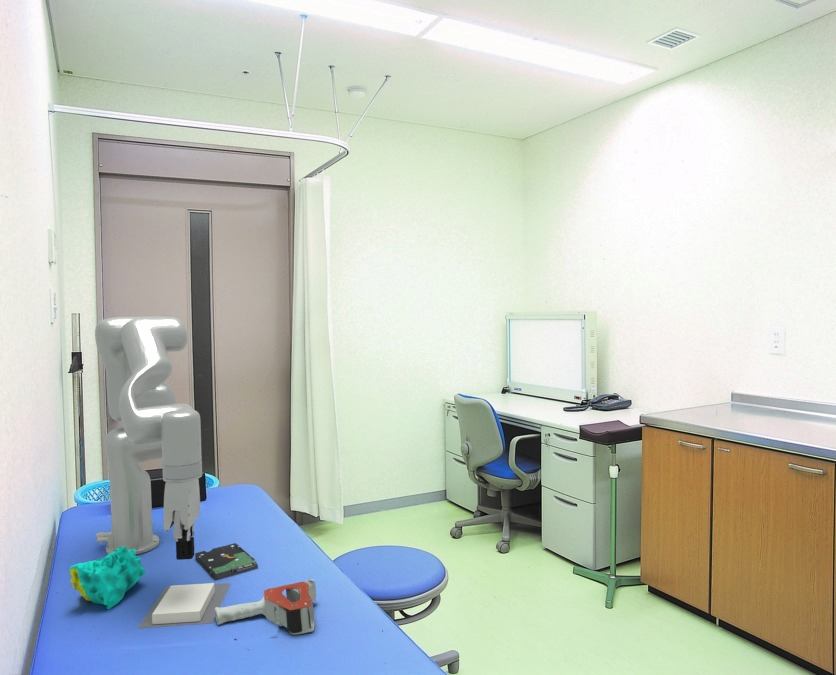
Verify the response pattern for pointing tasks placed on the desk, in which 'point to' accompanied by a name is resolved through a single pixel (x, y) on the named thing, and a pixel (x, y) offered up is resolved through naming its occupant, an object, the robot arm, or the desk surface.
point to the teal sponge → (107, 576)
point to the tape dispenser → (278, 607)
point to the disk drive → (226, 561)
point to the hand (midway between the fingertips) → (185, 557)
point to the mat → (206, 619)
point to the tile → (184, 603)
